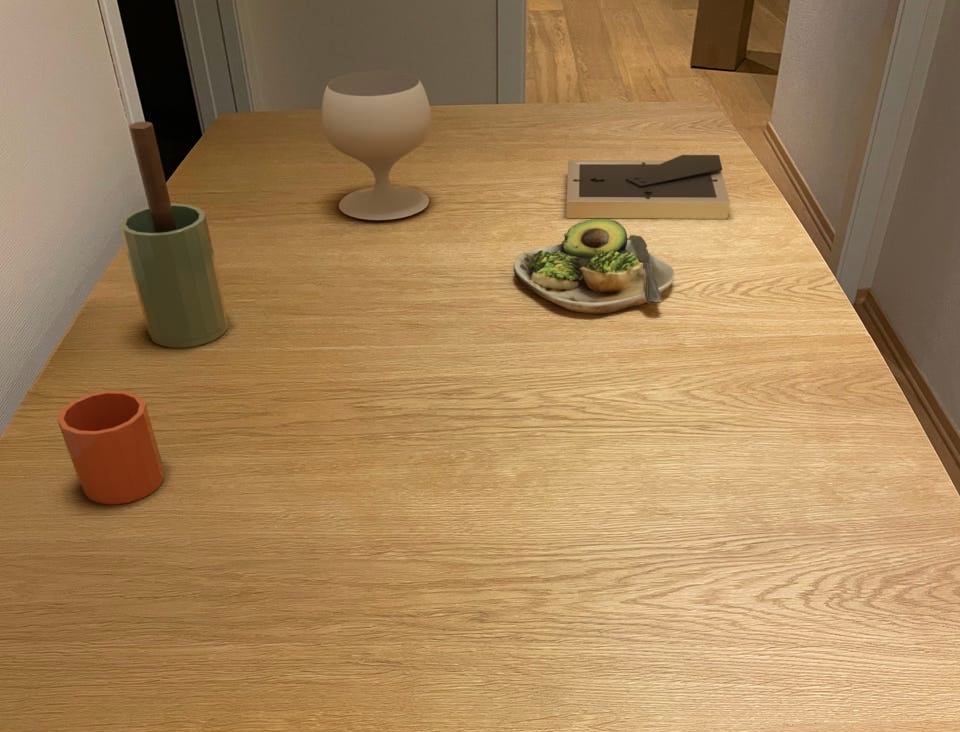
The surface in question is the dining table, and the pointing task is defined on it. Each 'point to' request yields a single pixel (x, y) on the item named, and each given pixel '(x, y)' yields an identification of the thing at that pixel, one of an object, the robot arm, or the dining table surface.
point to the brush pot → (112, 446)
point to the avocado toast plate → (595, 269)
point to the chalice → (378, 136)
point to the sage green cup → (176, 277)
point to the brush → (152, 176)
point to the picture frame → (647, 188)
